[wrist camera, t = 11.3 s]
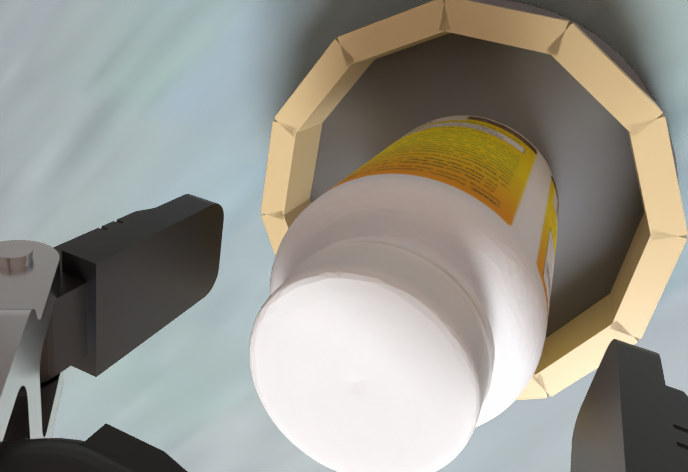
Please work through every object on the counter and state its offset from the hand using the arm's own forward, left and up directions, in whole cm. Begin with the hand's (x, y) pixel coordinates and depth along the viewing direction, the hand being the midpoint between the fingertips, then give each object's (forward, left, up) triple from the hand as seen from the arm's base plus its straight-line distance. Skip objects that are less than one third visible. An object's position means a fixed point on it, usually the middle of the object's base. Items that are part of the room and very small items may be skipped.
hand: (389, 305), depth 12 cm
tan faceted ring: (0, 0, -9) cm, 9 cm away
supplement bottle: (0, 0, -8) cm, 8 cm away
